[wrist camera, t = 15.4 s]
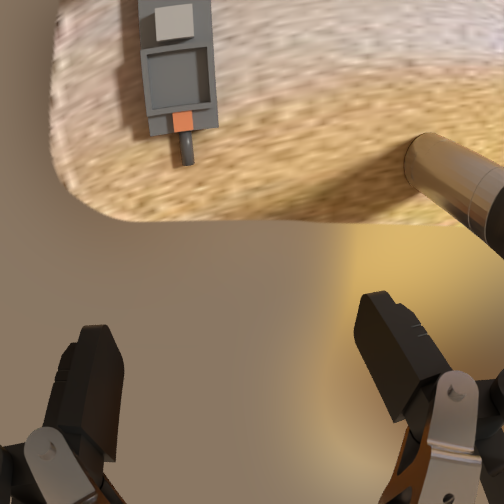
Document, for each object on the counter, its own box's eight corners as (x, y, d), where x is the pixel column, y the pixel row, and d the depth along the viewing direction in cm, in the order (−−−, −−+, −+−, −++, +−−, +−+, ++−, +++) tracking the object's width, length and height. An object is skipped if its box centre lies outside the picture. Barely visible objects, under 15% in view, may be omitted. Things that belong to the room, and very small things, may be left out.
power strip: (208, -23, 25) (210, -34, 21) (219, 157, 37) (223, 169, 33) (140, -14, 24) (134, -24, 20) (157, 165, 36) (153, 178, 32)
